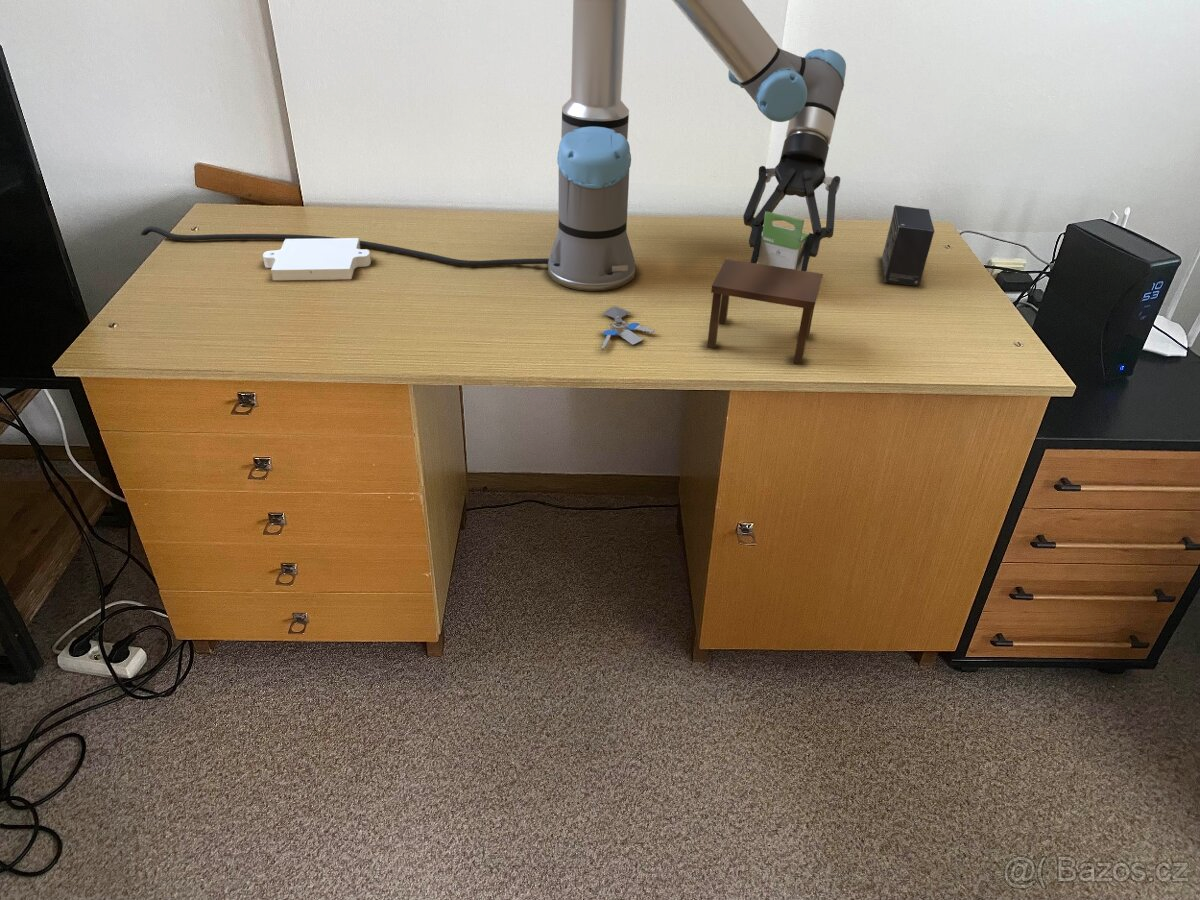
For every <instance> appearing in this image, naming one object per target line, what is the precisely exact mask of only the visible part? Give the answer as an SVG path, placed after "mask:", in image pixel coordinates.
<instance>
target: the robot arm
mask: <svg viewBox="0 0 1200 900" xmlns="http://www.w3.org/2000/svg"><path fill="white" fill-rule="evenodd" d="M671 1H672V2H673V3H674V5H675V6H676V7H677V8H678V9H679V11H680V12H681V13H682V14H683V15H684V17H685V18H686V19H687V20H688V22H689V23H690V24H691V25H692V26H693V28H694V29H695V30H696V31H697V33H698V34H699V35H700V37H702V38H703V40H704V41H705V42H706V43H707V45H708V46H709V47H710V48H711V50H712V51H713V52H714V53H715V54H716V56H717V57H718V59H720V61H721V62H722V64H723V65H724V66H726V68H727V70H728V75H727V77H728V80H729V81H730V82H731V83H732V84H734V85H737V86H739V87H740V88H741V89H744V90H745V92H746V93H747V94H748V95H749V96H750V97H751V99H752V100H753V102H755V104H756V106H757V109H758V110H759V112H760V113H761V114H762V115H763V116H764V117H766V118H767V119H768V120H770V121H772V122H777V123H784V122H788V124H787V128H786V134H785V139H784V141H783V145H782V150H781V153H780V158H779V161H778V163H777V165H776V166H774V167H771V168H770V167H769V168H766V166H764V165H761V166H759V168H758V179H757V181H756V184H755V186H754V189H753V191H752V193H751V196H750V198H749V201H748V203H747V206H746V208H745V210H744V212H743V215H742V217H743V218H742V219H743V223H744V226H747V227H749V228H751V229H750V234H749V238H748V245H749V248H753V250H752V253H751V258H750V263H756V264H757V262H758V256H759V249H760V242H761V235H762V232H763V227H764V218H765V211H767V212H771V213H774V211H775V209H776V208H777V207H778V206H779V204H780V202H781V201H783V200H784V198H785V197H786V196H790V197H791V196H797V197H798V198H799V197H800V198H805V200H806V205H807V210H808V215H809V219H810V224H811V230H812V233H811V232H809V233H808V235H809V237H808V241H807V246H806V250H805V254H804V259H803V263H802V268H801V271H807V269H808V267H809V263H810V258H816V257H817V256H818V253H819V250H820V244H821V240H822V239H825V238H827V239H831V238H833V236H834V229H835V217H836V216H835V215H836V198H837V197H836V196H837V193H838V191H839V189H840V187H841V186H840V184H841V177H840V176H839V175H834V176H830V175H827V174H826V171H825V169H826V163H827V159H828V154H829V150H830V147H829V145H831V141H832V136H833V132H834V128H835V124H836V118H837V114H838V109H839V105H840V102H841V96H842V93H843V91H844V87H845V80H846V71H847V63H846V60H845V58H844V57H843V55H841V54H840V53H838V51H835V50H833V49H824V48H815V49H813V50H810V51H808V53H806V54H805V56H799V55H797V54H794V53H792V52H789V51H787V50H784V49H782V48H780V47H779V46H778V44H777V43H776V42H775V40H774V39H773V38H772V36H771V35H770V34H769V33H768V31H767V30H766V29H765V27H764V26H763V25H762V24H761V22H760V21H759V20H758V19H757V17H756V16H755V15H754V13H753V12H752V11H751V10H750V8H749V6H747V4H746V3H745V1H744V0H671ZM626 13H627V0H572V32H571V33H572V34H571V35H572V36H571V37H572V40H571V75H570V76H571V77H570V78H571V79H570V80H571V82H570V83H571V84H570V98H569V99H568V100H567V101H566V102H565V103H564V104H563V105H562V107H561V135H560V136H561V139H560V141H559V143H558V144H559V145H558V151H557V156H556V157H557V159H556V160H557V161H556V162H557V165H558V229H557V232H556V235H555V238H554V242H553V245H552V247H551V250H550V254H549V257H548V258H509V259H508V258H505V259H487V260H470V259H469V260H468V259H467V260H466V259H458V258H451V257H447V256H443V255H439V254H434V253H430V252H424V251H419V250H415V249H411V248H410V249H409V248H406V247H405V248H404V247H400V246H395V245H390V244H389V245H388V244H384V243H377V242H371V241H366V240H360V239H359V241H360V247H365V248H369V249H376V250H382V251H387V252H392V253H398V254H403V255H408V256H413V257H418V258H423V259H426V260H432V261H436V262H440V263H444V264H449V265H454V266H455V265H456V266H461V267H462V266H464V267H493V266H512V265H513V266H516V265H547V272H548V276H549V277H550V278H551V280H553V281H554V282H556V283H557V284H558V285H561V286H563V287H566V288H570V289H574V290H577V291H585V292H600V291H601V292H602V291H608V290H614V289H617V288H620V287H624V286H626V285H627V284H628V283H630V282H632V280H633V279H634V277H635V274H636V261H635V257H634V254H633V250H632V249H633V248H632V247H631V243H630V239H629V235H628V232H627V231H628V229H627V227H628V209H629V208H628V205H629V189H630V188H629V187H630V185H629V184H630V168H631V165H632V154H631V147H630V143H629V141H628V137H629V122H630V121H629V117H630V109H629V108H628V107H627V105H625V103H624V102H623V100H622V89H623V71H624V70H623V69H624V54H625V53H624V52H625V35H626V34H625V33H626V19H627V18H626V15H627V14H626ZM773 177H774V178H775V179H776V181H777V185H776V187H775V190H774V191H773V193H772V194H771V195H770V197H768V199H767V200H766V202H765V204H763V206H762V208H761V209H760V210H759V212H758V213H757V214H756V212H757V209H758V207H759V205H760V202H761V200H762V198H763V194H764V192H765V189H766V187H767V184H769V183H770V182H771V180H772V178H773ZM822 184H824V185H825V190H826V191H827V203H826V205H827V206H826V207H827V208H826V220H825V221H826V223H825V226H823V227H822V223H821V219H820V214H819V210H818V205H817V199H816V194H815V191H816V190H817V189H818V188H820V186H822ZM755 215H756V216H755ZM754 216H755V217H754ZM150 233H156V234H158V235H161V236H163V237H165V238H168V239H171V240H176V241H216V240H217V241H219V240H222V241H223V240H283V241H285V239H319V238H337V237H334V236H326V235H325V236H323V235H312V234H311V235H309V234H291V233H290V234H289V233H288V234H287V233H284V234H283V233H213V234H177V233H172V232H169V231H167V230H164V229H163V228H160V227H158V226H151V225H150V226H147V227H145V228H144V229H143V230H142V231H141V233H140V235H141V236H147V235H149V234H150ZM807 272H808V271H807Z"/></svg>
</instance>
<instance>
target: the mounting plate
mask: <svg viewBox="0 0 1200 900" xmlns="http://www.w3.org/2000/svg"><path fill="white" fill-rule="evenodd" d="M359 240H360V238H359V237H336V238H319V239H285V240H283V243H282V245H281V248H279V249H274V250H273V249H272V250H266V251H264V253H262V259H263V264H264V267H265V268H266V269H270V273H271V277H272V281H327V280H328V281H329V280H332V281H333V280H338V281H339V280H352V278H353V275H354V271H355V269H356V268H361V267H362V268H364V267H369V266H371V262H372V259H371V252H370V250H369V249H367V248H365V249H364V248H363V249H361V246H360V241H361V240H360V241H359Z"/></svg>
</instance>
